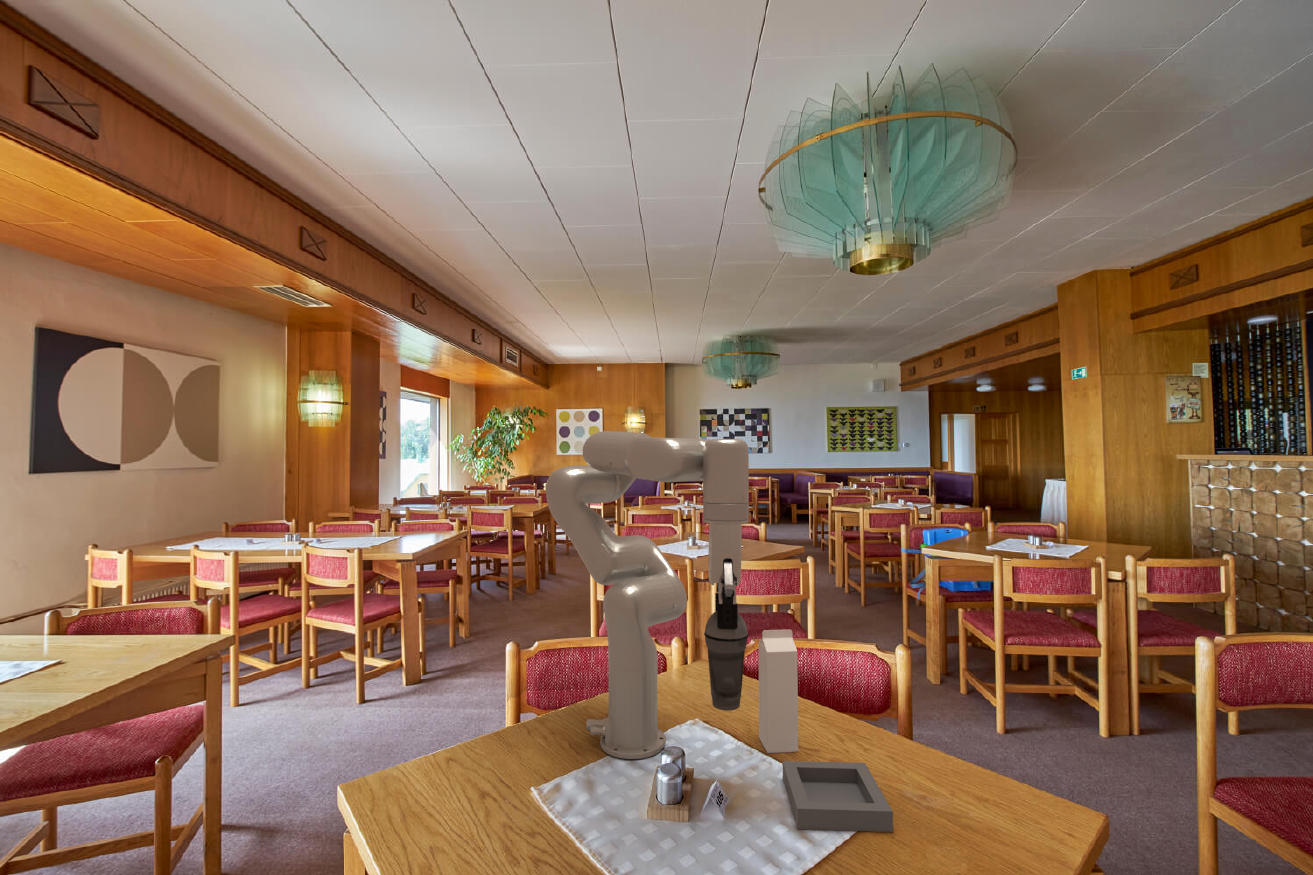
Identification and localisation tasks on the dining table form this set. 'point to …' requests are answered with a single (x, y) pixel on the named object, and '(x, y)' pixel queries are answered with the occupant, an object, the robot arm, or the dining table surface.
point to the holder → (836, 797)
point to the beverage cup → (726, 662)
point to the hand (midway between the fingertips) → (726, 621)
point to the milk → (778, 692)
